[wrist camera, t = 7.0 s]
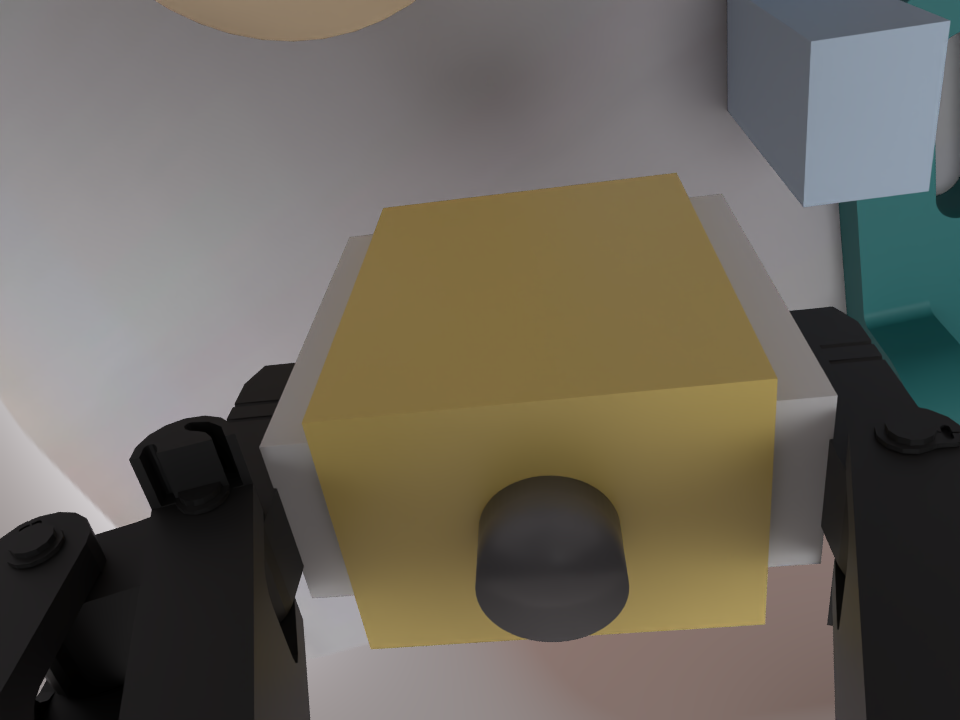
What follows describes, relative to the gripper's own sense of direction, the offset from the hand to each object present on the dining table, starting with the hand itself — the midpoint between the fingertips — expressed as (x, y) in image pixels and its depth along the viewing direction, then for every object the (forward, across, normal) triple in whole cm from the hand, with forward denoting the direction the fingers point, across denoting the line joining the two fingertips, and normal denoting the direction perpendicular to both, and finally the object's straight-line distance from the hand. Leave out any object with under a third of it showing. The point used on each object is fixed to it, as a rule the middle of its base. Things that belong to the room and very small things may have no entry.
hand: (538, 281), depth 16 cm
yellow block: (0, 0, 0) cm, 0 cm away
